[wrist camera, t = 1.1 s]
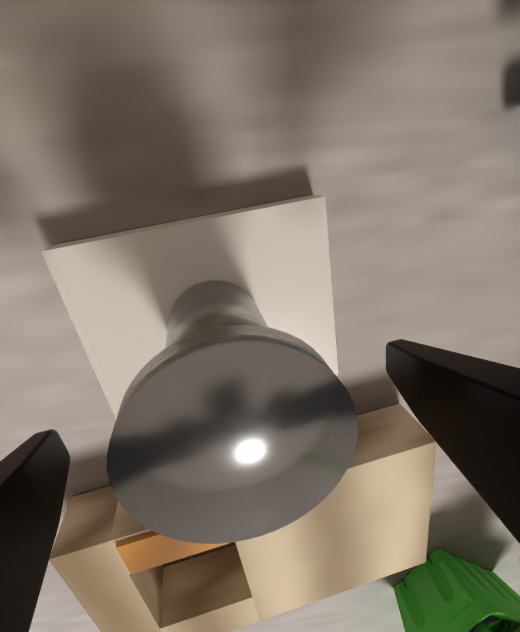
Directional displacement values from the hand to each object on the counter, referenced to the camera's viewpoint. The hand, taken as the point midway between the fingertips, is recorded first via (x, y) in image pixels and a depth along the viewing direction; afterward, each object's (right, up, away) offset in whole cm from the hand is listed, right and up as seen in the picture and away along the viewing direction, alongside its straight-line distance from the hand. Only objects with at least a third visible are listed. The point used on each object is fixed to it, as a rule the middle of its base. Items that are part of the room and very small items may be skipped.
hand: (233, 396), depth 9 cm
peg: (-1, +2, +4) cm, 5 cm away
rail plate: (+1, -9, +11) cm, 14 cm away
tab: (-1, +2, +5) cm, 6 cm away
